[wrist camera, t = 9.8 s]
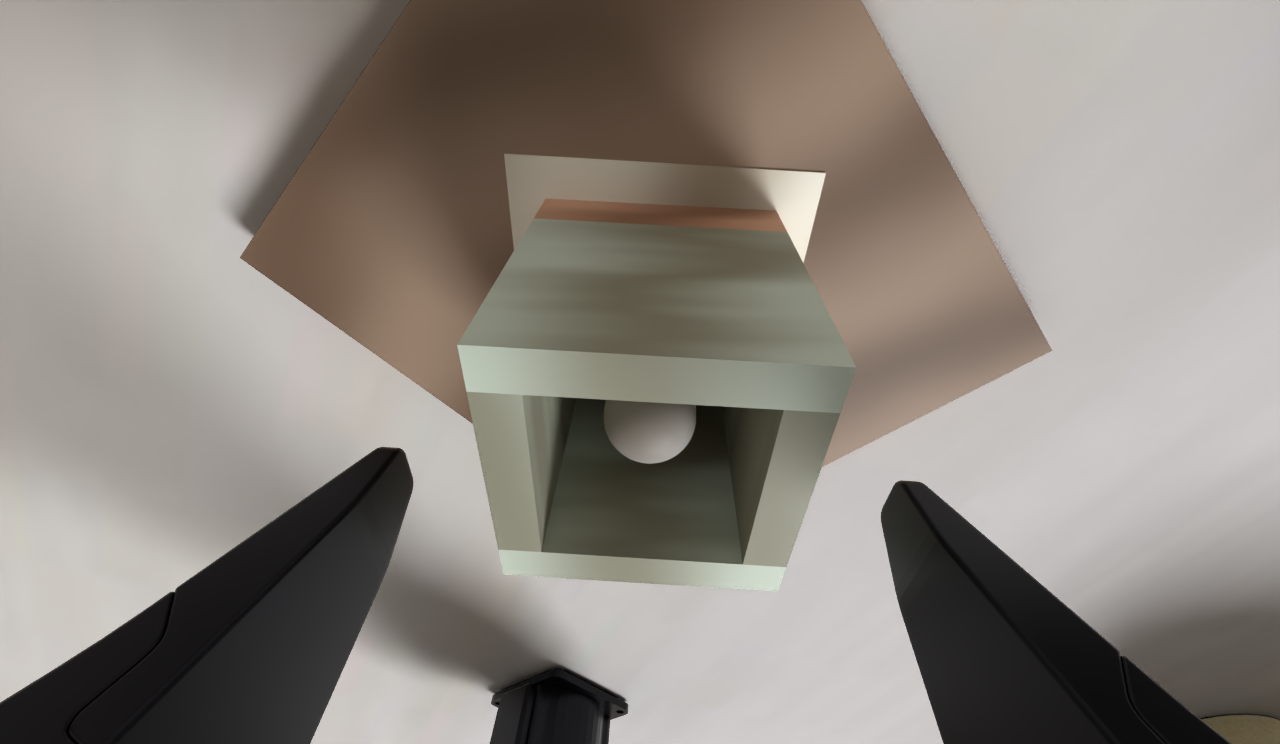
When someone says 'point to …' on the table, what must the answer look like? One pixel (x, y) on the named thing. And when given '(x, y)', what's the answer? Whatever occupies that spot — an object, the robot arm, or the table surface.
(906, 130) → the pin board
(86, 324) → the table surface
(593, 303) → the sleeve
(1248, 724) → the plant pot
